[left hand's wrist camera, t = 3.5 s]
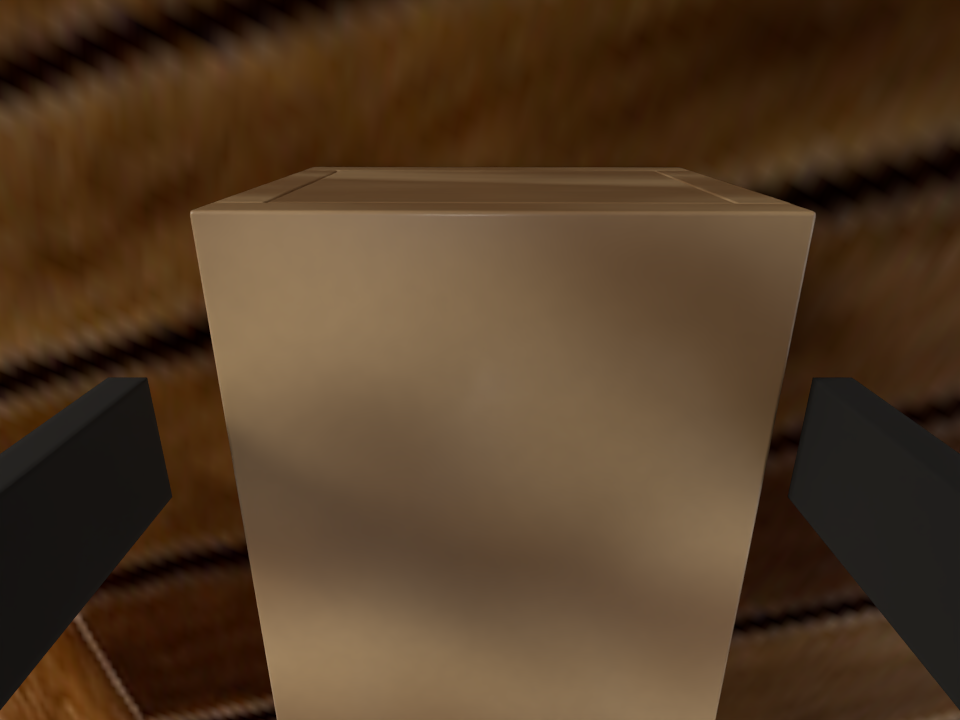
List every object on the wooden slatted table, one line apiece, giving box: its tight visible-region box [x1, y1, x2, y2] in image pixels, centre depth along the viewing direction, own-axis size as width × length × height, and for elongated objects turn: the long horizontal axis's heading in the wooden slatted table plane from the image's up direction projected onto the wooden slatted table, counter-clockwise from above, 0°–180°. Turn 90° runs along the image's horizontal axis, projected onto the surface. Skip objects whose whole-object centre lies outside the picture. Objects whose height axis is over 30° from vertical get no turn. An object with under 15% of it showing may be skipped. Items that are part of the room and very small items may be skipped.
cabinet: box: [190, 167, 816, 720], centre depth 18 cm, size 16×11×8 cm, turn 0°
